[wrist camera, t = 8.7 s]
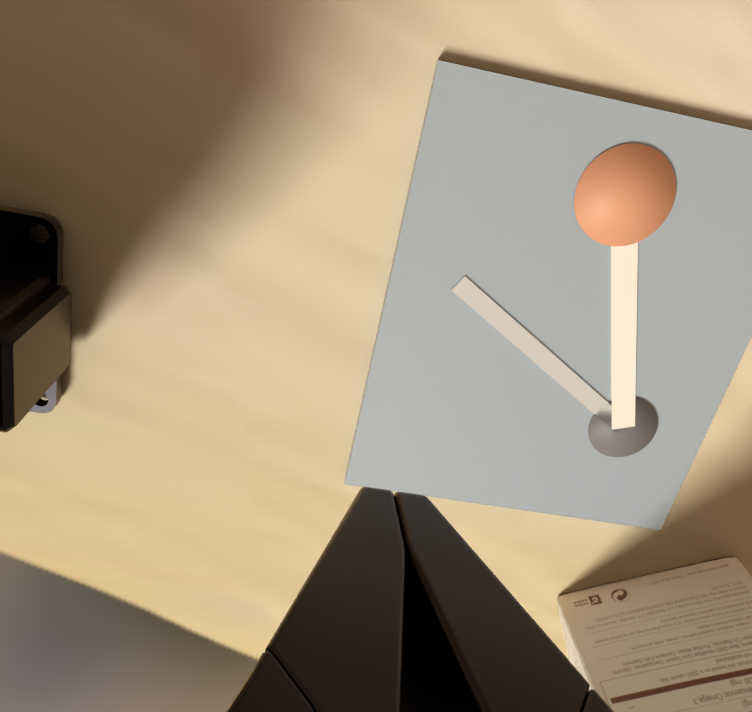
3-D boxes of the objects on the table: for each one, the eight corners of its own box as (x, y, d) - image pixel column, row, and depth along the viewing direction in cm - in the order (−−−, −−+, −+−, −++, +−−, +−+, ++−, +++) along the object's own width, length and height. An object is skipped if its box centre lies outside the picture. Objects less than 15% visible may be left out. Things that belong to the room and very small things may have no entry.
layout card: (344, 479, 24) (344, 485, 24) (437, 60, 18) (439, 60, 18) (657, 525, 25) (661, 531, 25) (832, 148, 20) (841, 150, 19)
